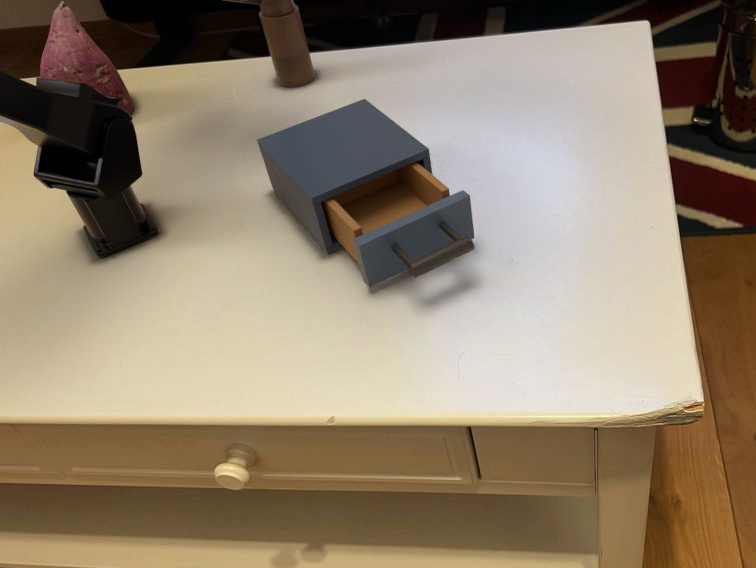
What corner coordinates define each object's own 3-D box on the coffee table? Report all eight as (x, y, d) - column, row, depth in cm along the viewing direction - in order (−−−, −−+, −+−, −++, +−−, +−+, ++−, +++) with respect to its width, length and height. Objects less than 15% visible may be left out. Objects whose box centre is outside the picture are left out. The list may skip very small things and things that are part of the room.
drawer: (501, 261, 66) (498, 218, 63) (393, 315, 63) (383, 272, 59) (409, 181, 77) (402, 141, 73) (312, 223, 73) (299, 183, 70)
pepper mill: (321, 78, 98) (293, -34, 88) (287, 91, 96) (255, -22, 86) (306, 66, 101) (277, -44, 91) (272, 78, 99) (240, -32, 89)
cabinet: (437, 205, 75) (429, 148, 70) (327, 254, 71) (311, 198, 66) (375, 152, 83) (364, 98, 79) (274, 193, 79) (256, 139, 74)
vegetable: (113, 113, 103) (80, -4, 96) (153, 120, 98) (122, -4, 90) (38, 129, 96) (-4, 4, 89) (78, 138, 91) (37, 5, 83)
